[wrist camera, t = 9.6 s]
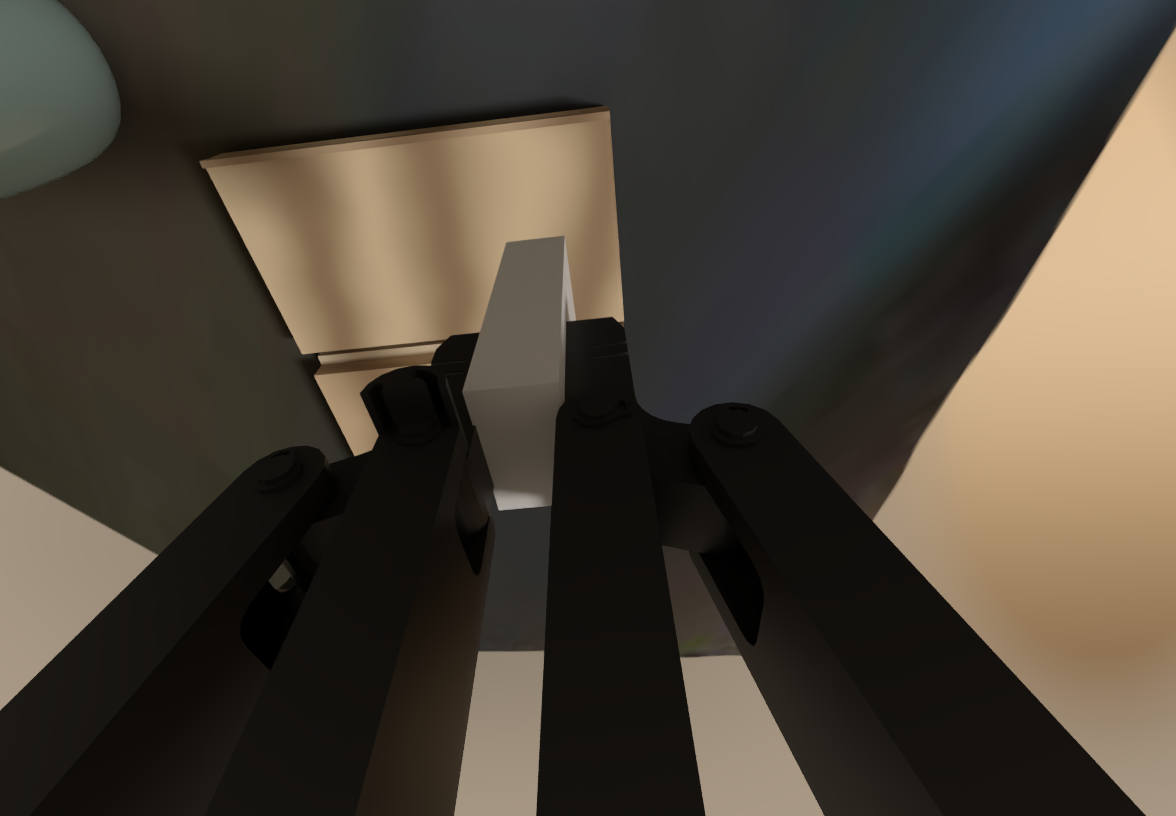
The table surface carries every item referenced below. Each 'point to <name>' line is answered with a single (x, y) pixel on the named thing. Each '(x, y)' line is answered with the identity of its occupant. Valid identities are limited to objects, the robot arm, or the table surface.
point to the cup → (51, 95)
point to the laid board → (364, 383)
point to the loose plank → (423, 223)
